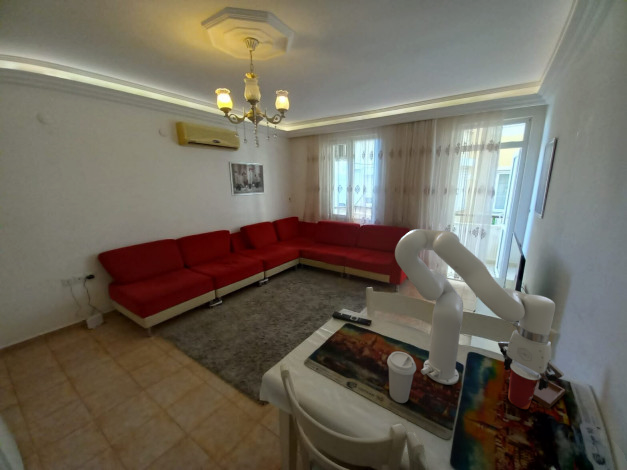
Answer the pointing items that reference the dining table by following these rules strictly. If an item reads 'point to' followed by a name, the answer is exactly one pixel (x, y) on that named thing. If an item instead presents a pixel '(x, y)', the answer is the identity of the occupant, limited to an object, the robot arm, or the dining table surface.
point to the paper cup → (522, 385)
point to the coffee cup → (400, 375)
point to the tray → (547, 394)
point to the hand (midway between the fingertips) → (523, 377)
